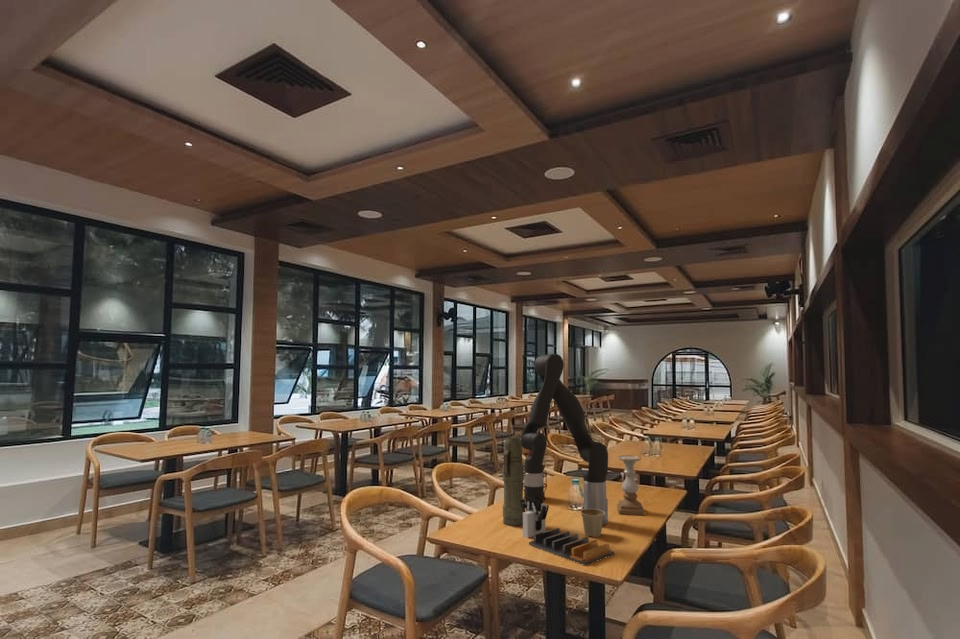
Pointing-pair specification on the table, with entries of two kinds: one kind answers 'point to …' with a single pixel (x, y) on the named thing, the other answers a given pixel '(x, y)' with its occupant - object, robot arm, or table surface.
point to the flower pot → (592, 521)
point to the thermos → (513, 482)
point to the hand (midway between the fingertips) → (534, 528)
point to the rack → (571, 546)
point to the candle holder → (630, 489)
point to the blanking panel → (531, 524)
